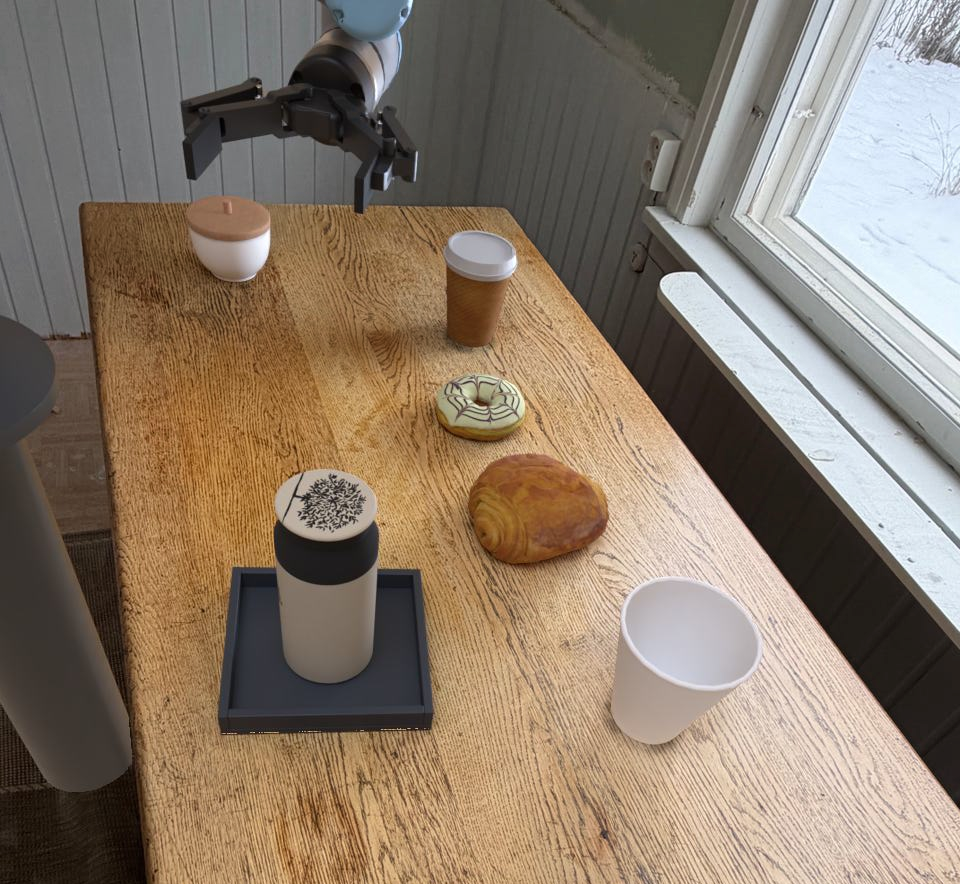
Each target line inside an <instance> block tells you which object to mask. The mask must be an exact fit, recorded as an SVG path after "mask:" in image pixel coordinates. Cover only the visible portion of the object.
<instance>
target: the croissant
mask: <svg viewBox="0 0 960 884" xmlns="http://www.w3.org/2000/svg"><path fill="white" fill-rule="evenodd" d="M468 495H469V500H468V503H467V509H468V510H469V511H470V516H471V519H472V520H473V521H472V523H473V528H474V529H473V530H474V533H475V534H476V537H477V539H478V540H479V541H480V544H481V546H483V547H484V548H486V550H488V551H489V553H490V554H492V556H493V558H496V559H498V560H500V561H502V562H505V563H508V564H512V565H516V564H523V563H525V564H529V563H536V562H539V561H545V560H549V559H552V558H554V557H557V556H561V555H564V554H567V553H569V552H574V551H577V550H580V549H583V548H585V547H587V546H589V545H590V544H592V543H593V542H595V541H596V540H598V539H599V538H600V537H602V535H603V534H605V532H606V529H607V525H608V521H609V519H610V512H609V508H608V507H609V505H608V497H607V495H606V493H605V491H604V489H603V488H602V486H601V485H600V483H598V482H596V481H593V480H592V479H591V478H590V477H588V475H585V474H584V473H581V472H578V471H576V470H574V468H573V469H572V467H569V466H567V465H565V464H564V462H562V461H560V460H558V459H556V458H553V457H551V456H549V455H547V454H543V453H542V454H539V453H538V454H537V453H530V452H529V453H519V454H518V453H517V454H515V453H514V454H510V455H505V456H503V457H501V458H499V459H496V460H493V461H492V462H490V463H489V464H487V466H486V467H485V469H484V470H483V471H482V472H481V473H479V475H478V477H477V479H476V480H474V481H473V483H472V486H471V487H470V489H469V494H468Z"/></svg>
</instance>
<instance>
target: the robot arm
mask: <svg viewBox="0 0 960 884" xmlns="http://www.w3.org/2000/svg"><path fill="white" fill-rule="evenodd" d="M316 1H317V2H319V3H320V4H321V5H320V6H321V9H320V12H321V36H320V37H319V38H318V39H317V41H316V42H315V43H314V44H313V45H312V47H311V48H310V49H309V50H307V52H306V53H305V54H304V56H303V57H302V58H301V59H300V61H299V62H298V63H297V64H296V66H295V67H294V68H293V71H292V73H291V75H290V77H289V80H288V83H287V85H286V86H284V87H283V86H282V87H280V88H278V89H273V90H267V89H264V88H263V81H262V79H260V78H259V77H256V76H252V77H248V78H246V80H244V81H243V82H242V83H240V84H235V85H233V86H232V85H231V86H229V87H226V88H221V89H219V90H215V91H211V92H208V93H204V94H201V95H197V96H193V97H191V98H187V99H183V100H181V101H180V102H179V106H180V115H181V121H182V122H181V123H182V128H183V135H184V136H185V139H183V140H182V141H181V145H182V153H183V159H184V166H185V167H184V168H185V174H186V179H187V180H190V181H196V182H197V180H199V178H200V177H201V176H202V175H203V174H204V172H206V170H207V169H208V168H209V166H210V165H211V164H212V163H213V162H214V161H215V160H216V158H217V157H218V156H219V155H220V153H221V152H223V144H224V143H225V144H226V143H231V142H236V141H242V140H247V139H254V138H259V137H265V136H269V135H270V136H271V135H272V136H274V137H276V138H277V139H278V140H282V139H283V140H284V139H289V138H294V137H299V136H300V137H301V138H303V139H305V138H310V139H313V140H314V141H315V142H317V143H320V144H322V145H324V146H327V147H328V146H329V147H338V148H339V149H340V150H342V151H343V152H344V153H352V154H353V156H355V157H356V158H357V159H358V160H360V161H361V162H362V163H361V164H360V166H359V168H358V170H357V172H356V173H355V176H354V180H353V181H354V185H353V186H354V188H353V189H354V190H353V191H354V192H353V213H355V214H358V215H364V213H365V211H366V209H367V208H368V205H369V204H370V201H371V200H372V197H373V195H374V193H375V191H379V192H385V191H387V190H388V188H389V185H390V184H391V182H393V181H394V180H395V177H400V178H401V180H402V181H403V182H405V183H410V184H412V183H415V182H416V180H417V167H418V154H419V149H418V148H417V147H416V145H415V143H414V142H413V140H412V139H411V137H410V136H409V134H408V133H407V131H406V130H405V128H404V127H403V125H402V124H401V122H400V121H399V119H398V117H397V116H398V109H397V107H395V106H392V105H385V106H383V108H382V109H383V110H382V109H378V110H377V111H376V113H375V112H374V110H375V109H376V107H377V106H378V104H379V102H380V100H381V98H382V97H383V95H384V93H385V92H386V90H388V89H389V87H390V86H391V85H392V83H393V81H394V80H395V77H396V76H395V75H397V73H398V72H399V68H400V62H401V57H402V50H403V46H402V44H403V43H402V36H401V34H400V31H399V30H400V29H401V28H402V27H403V26H404V24H405V22H406V21H407V20H408V18H409V16H410V14H411V10H412V6H413V2H414V0H316ZM283 123H284V124H285V125H284V124H283Z"/></svg>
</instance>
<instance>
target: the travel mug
mask: <svg viewBox="0 0 960 884" xmlns="http://www.w3.org/2000/svg"><path fill="white" fill-rule="evenodd" d="M377 499H378V498H377V497H376V494H375V492H374V491H373V489H372V488H371V487H370V486H369V484H367V482H365V481H364V480H363V479H361V478H359V476H356V475H354V474H352V473H349V472H346V471H342V470H337V469H331V468H329V469H328V468H319V469H318V468H317V469H310V470H306V471H303V472H300V473H297V474H295V475H293V476H292V477H290V478H288V479H286V480H285V481H284V482H283V483H282V484H281V485H280V487H279V488H278V489H277V492H276V494H275V496H274V501H273V508H274V512H275V514H276V517H277V520H276V522H275V524H274V527H273V531H272V533H273V534H272V535H273V536H272V537H273V547H274V548H273V549H274V559H275V560H274V561H275V567H276V572H277V583H278V595H279V606H280V618H281V629H282V641H283V652H284V657H285V659H286V662H287V663H288V665H289V666H290V668H291V669H292V670H293V671H294V672H295V673H297V674H298V675H300V676H301V677H303V678H305V679H307V680H310V681H314V682H318V683H337V682H342V681H345V680H348V679H350V678H352V677H354V676H356V675H358V674H359V673H360V672H361V671H362V670H364V668H365V667H366V666H367V665H368V663H369V661H370V659H371V657H372V652H373V638H374V620H375V602H376V585H377V569H378V566H379V565H378V564H379V550H380V549H379V548H380V530H379V526H378V524H377V523H376V521H375V519H376V517H377V513H378V508H379V507H378V500H377Z"/></svg>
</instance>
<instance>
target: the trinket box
mask: <svg viewBox="0 0 960 884" xmlns="http://www.w3.org/2000/svg"><path fill="white" fill-rule="evenodd" d="M185 218H186V223H187V226H188V233H189V238H190V241H191V245H192V248H193V250H194V253H195V255H196V257H197V258H198V260H199V261H200V262H201V264H202V265H203V266H204V267H205V269H207V270H208V271H209V272H211V274H212V275H213V276H214V277H215V278H216V279H218V280H221V281H224V282H229V283H242V282H247V281H250V280H252V279H254V278H255V277H256V276H257V274H258V272H259V271H260V270H261V269H262V268H263V267H264V265H265V264H266V262H267V260H268V257H269V254H270V249H271V215H270V212H269V211H268V210H267V208H265V206H263V205H262V204H260V203H259V202H257V201H254V200H252V199H249V198H245V197H241V196H234V195H211V196H207V197H202V198H199V199H197V200H195V201H193V202H192V203H190V204H189V205H188V206H187V208H186V210H185Z"/></svg>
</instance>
